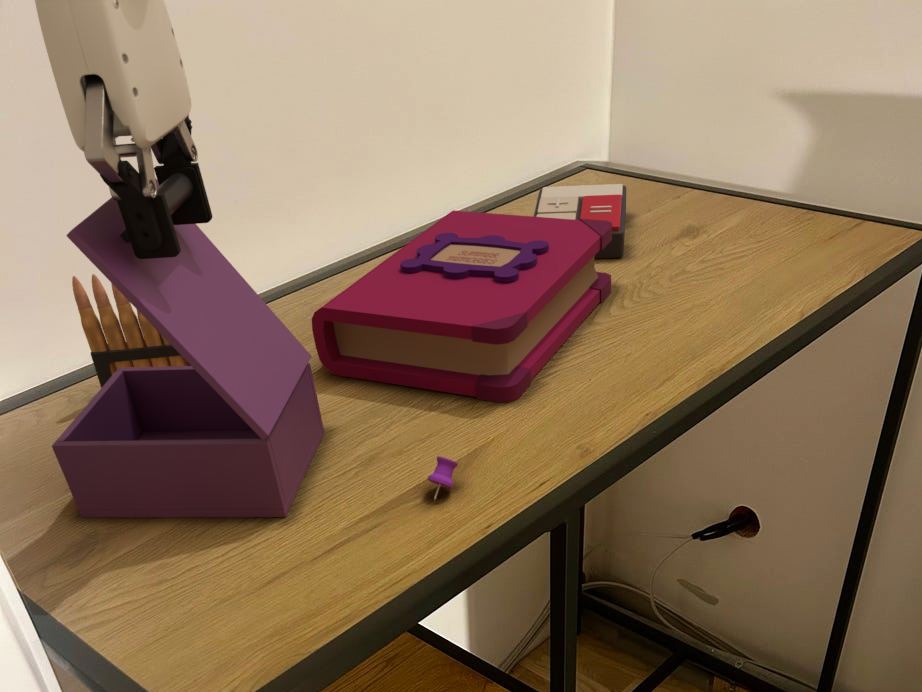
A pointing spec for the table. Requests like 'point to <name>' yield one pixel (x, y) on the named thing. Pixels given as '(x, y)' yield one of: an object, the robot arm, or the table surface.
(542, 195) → the calculator
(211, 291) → the lid
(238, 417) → the box
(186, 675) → the table surface
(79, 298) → the ammunition clip
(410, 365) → the book
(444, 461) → the pushpin
